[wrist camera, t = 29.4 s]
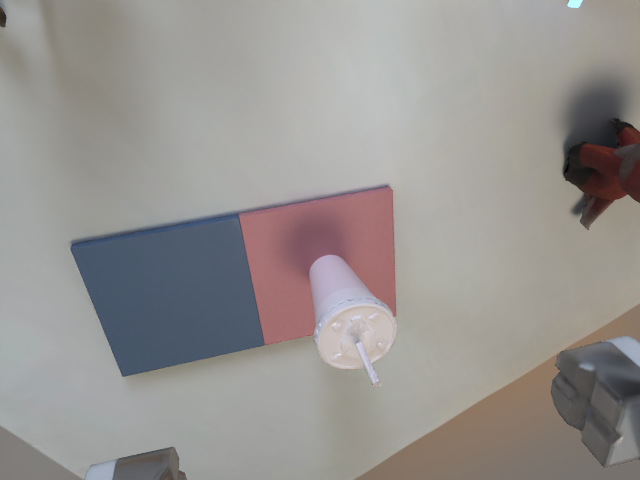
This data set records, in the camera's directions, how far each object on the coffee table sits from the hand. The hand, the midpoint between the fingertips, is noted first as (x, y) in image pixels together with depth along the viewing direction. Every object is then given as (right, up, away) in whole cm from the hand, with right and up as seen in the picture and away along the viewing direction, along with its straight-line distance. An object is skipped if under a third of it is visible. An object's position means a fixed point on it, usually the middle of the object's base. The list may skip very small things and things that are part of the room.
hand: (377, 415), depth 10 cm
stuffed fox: (+25, +10, +37) cm, 45 cm away
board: (-7, 0, +34) cm, 35 cm away
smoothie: (0, +1, +35) cm, 35 cm away
